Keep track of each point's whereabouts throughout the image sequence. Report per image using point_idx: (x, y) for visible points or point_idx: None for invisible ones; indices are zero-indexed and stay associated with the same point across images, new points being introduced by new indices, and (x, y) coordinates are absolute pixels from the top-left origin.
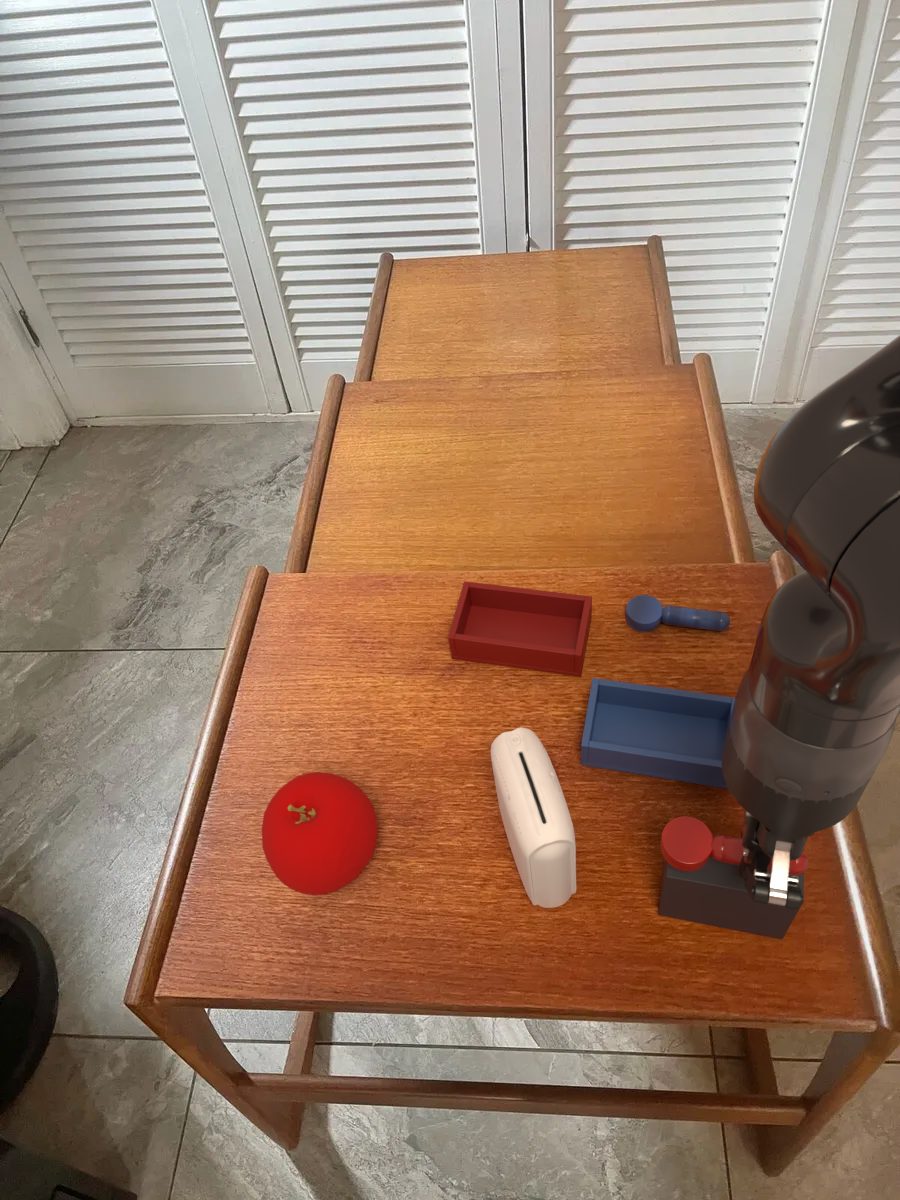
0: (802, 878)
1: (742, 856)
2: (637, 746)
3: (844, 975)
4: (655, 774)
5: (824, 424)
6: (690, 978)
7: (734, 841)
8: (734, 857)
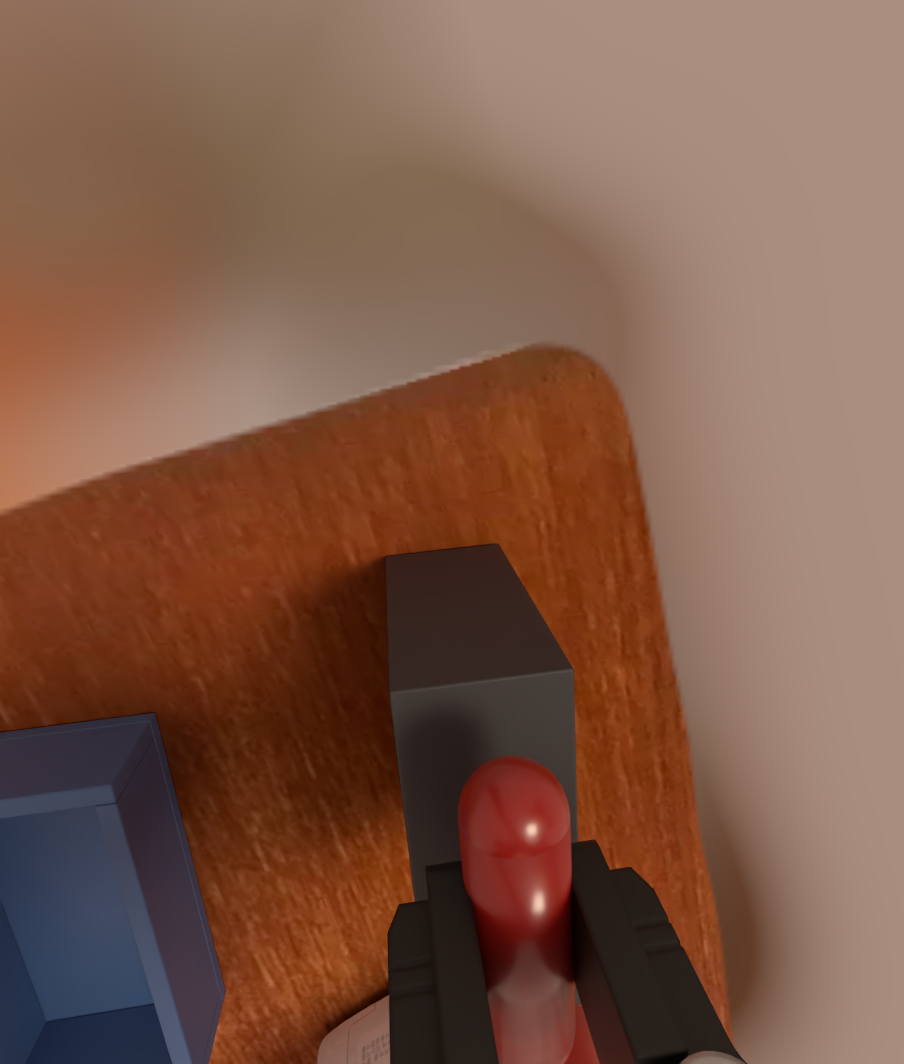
0: (492, 684)
1: (591, 1034)
2: (129, 922)
3: (545, 400)
4: (188, 871)
5: None
6: (623, 699)
7: (521, 1047)
8: (571, 1011)
